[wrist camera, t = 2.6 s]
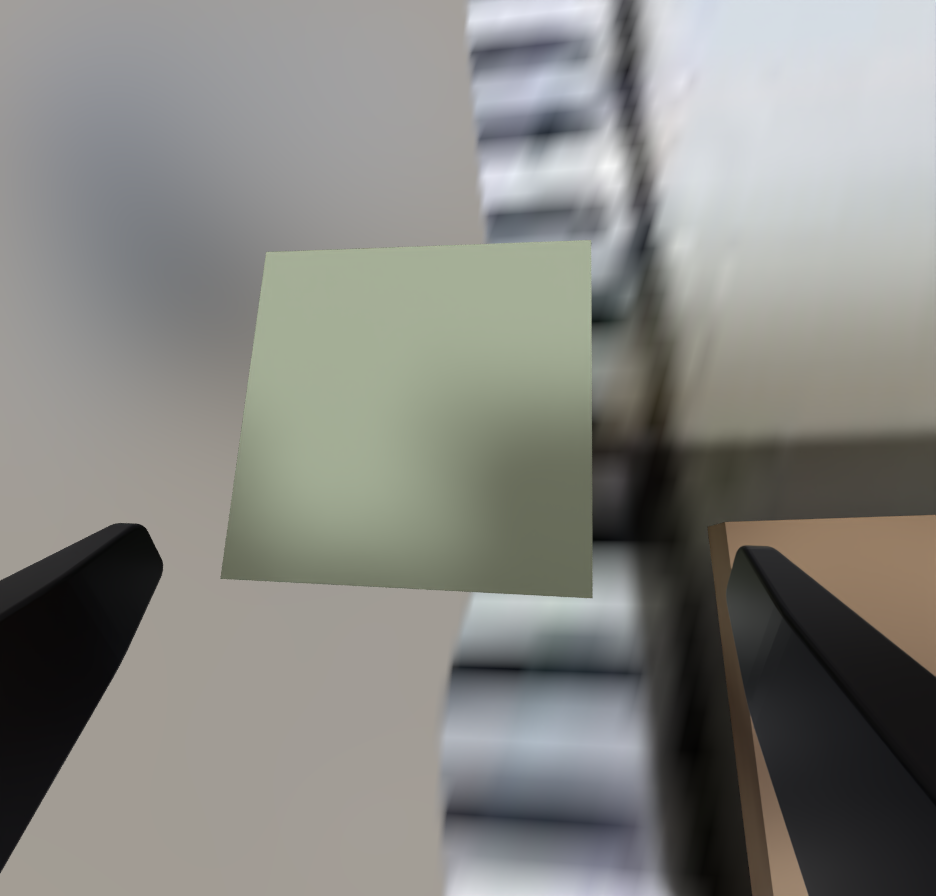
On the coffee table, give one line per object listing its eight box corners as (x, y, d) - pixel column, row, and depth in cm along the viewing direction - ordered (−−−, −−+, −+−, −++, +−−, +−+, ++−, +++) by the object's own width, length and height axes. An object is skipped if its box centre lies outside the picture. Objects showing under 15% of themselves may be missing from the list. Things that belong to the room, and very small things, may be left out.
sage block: (559, 581, 17) (592, 598, 6) (417, 574, 17) (220, 578, 7) (561, 439, 18) (590, 240, 7) (425, 437, 18) (266, 252, 8)
